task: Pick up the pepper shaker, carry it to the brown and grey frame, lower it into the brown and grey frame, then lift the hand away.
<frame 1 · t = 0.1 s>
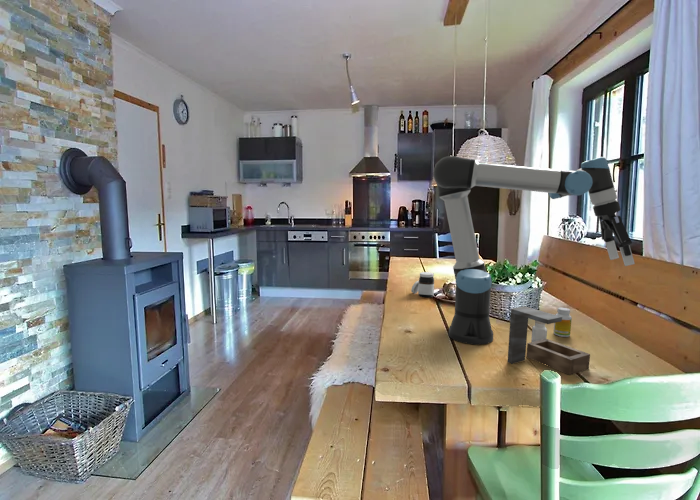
hand: (621, 261, 134), 28 cm above the table, tool tilted 20°, fingers open, 13 cm apart
pepper shaker: (538, 345, 132), on the table
supplement bottle: (561, 335, 142), on the table
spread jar: (422, 295, 198), on the table
brown and grey frame: (556, 362, 118), on the table
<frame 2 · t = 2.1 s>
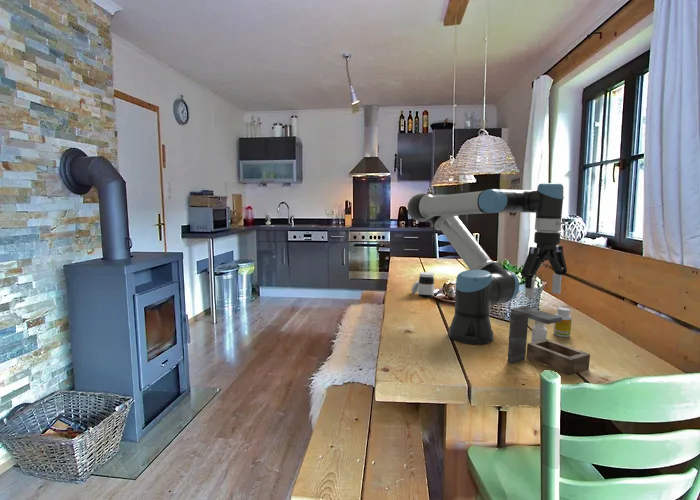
hand: (542, 295, 129), 17 cm above the table, tool pointing down, fingers open, 13 cm apart
nothing on the table moved.
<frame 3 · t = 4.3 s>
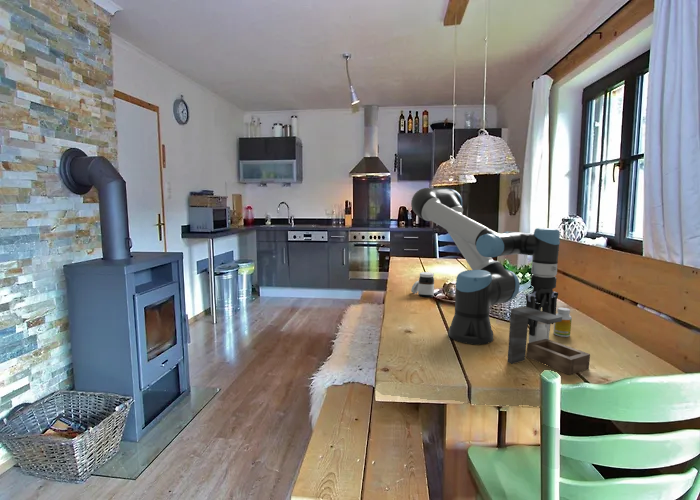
hand: (538, 342, 132), 1 cm above the table, tool pointing down, fingers closed on pepper shaker, 5 cm apart
pepper shaker: (538, 345, 132), on the table, touching gripper
everything else where it was.
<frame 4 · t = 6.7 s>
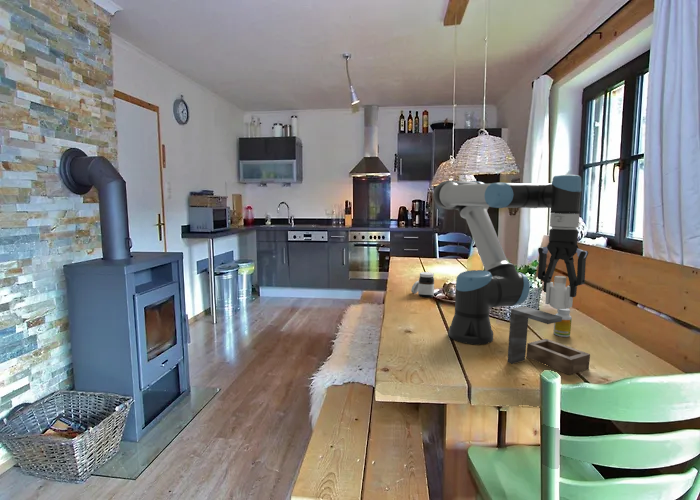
hand: (558, 305, 118), 17 cm above the table, tool pointing down, fingers closed on pepper shaker, 5 cm apart
pepper shaker: (558, 308, 118), point 16 cm above the table, touching gripper
everything else where it was.
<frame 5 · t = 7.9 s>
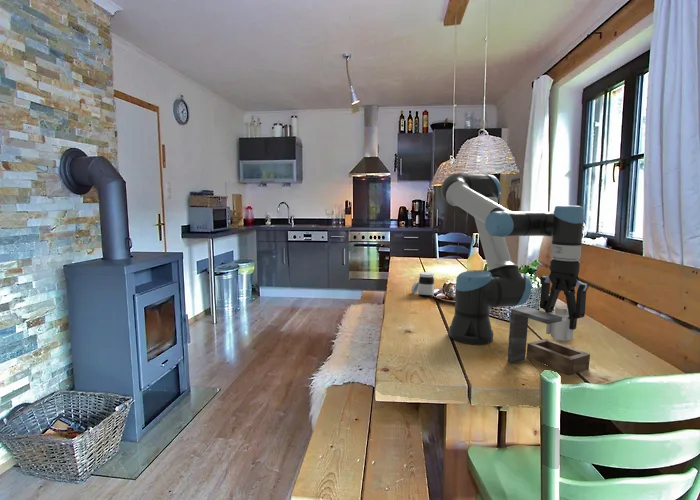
hand: (559, 336, 116), 8 cm above the table, tool pointing down, fingers closed on pepper shaker, 5 cm apart
pepper shaker: (558, 339, 116), point 7 cm above the table, touching gripper
everything else where it was.
when the fingers open (4 cm above the table, at t = 9.1 s): pepper shaker drops 3 cm, resting in brown and grey frame.
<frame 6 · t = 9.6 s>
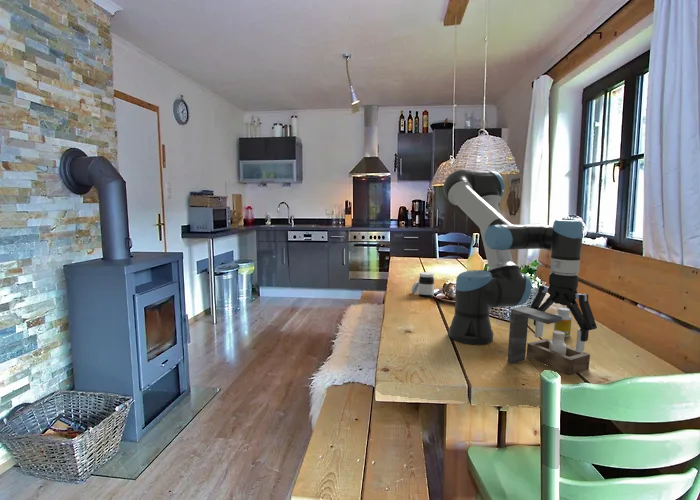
hand: (558, 343, 117), 6 cm above the table, tool pointing down, fingers open, 12 cm apart
pepper shaker: (556, 363, 118), resting in brown and grey frame
everything else where it was.
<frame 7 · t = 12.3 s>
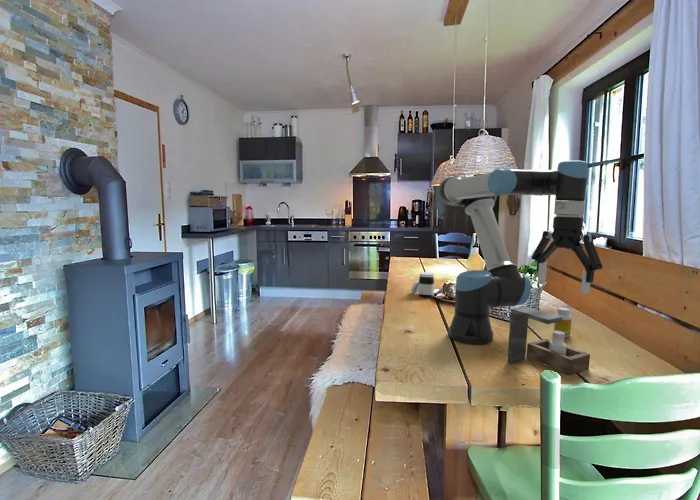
hand: (562, 288, 115), 23 cm above the table, tool pointing down, fingers open, 13 cm apart
nothing on the table moved.
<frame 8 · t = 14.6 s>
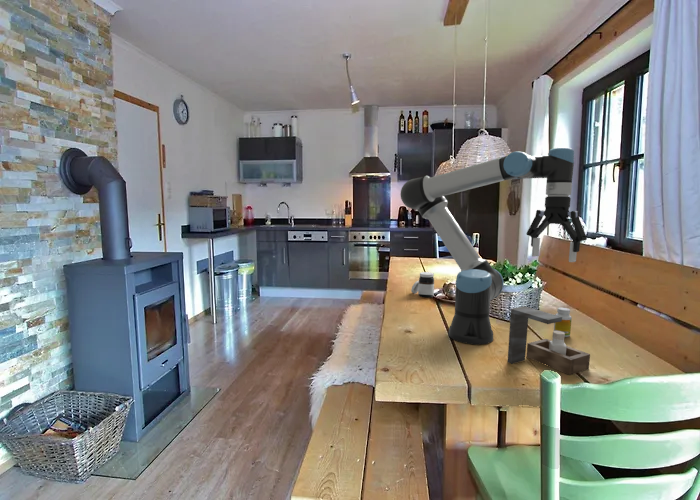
hand: (552, 258, 133), 29 cm above the table, tool pointing down, fingers open, 13 cm apart
nothing on the table moved.
at the end: pepper shaker 0.1 cm off-centre on the brown and grey frame, point 0.0 cm above the brown and grey frame's base; pepper shaker tilted 0°; the gripper is holding nothing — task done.
